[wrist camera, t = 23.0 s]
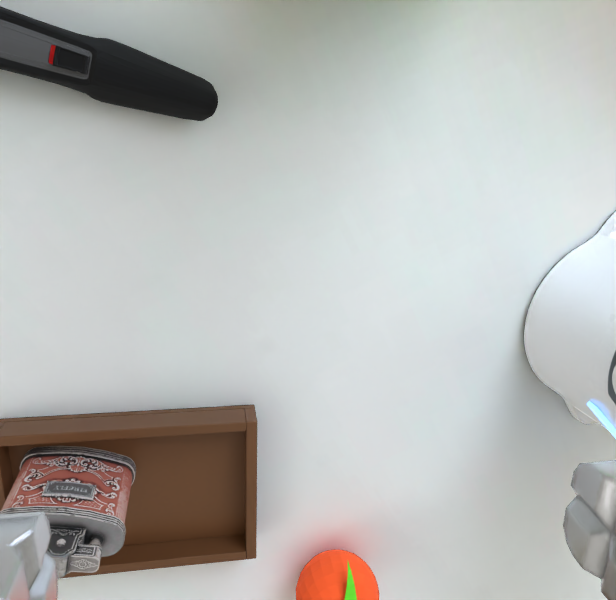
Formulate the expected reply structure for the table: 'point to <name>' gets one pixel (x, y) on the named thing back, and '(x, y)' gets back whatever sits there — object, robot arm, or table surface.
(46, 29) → the electric trimmer
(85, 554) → the lighter
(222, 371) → the table surface
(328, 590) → the clementine
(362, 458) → the table surface
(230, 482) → the tray
